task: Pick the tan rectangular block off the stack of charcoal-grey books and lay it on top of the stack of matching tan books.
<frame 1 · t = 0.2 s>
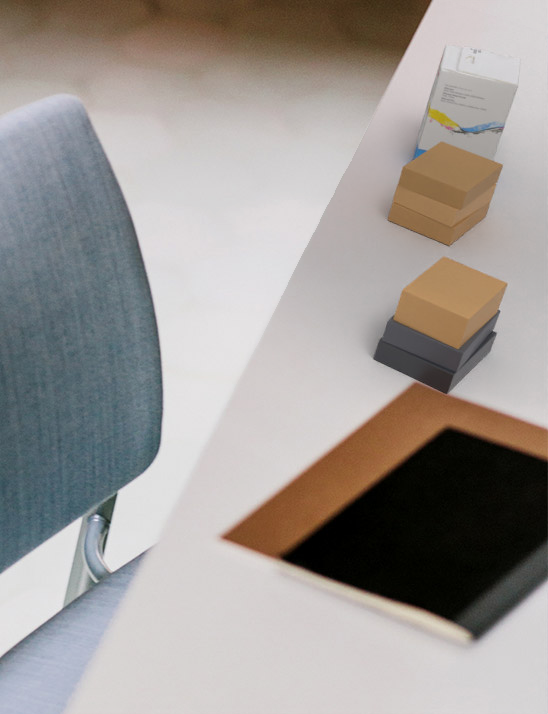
tan rectangular block: (445, 316, 101), point 4 cm above the table, touching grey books
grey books: (432, 355, 103), on the table
ink box: (449, 163, 135), on the table
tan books: (437, 218, 124), on the table
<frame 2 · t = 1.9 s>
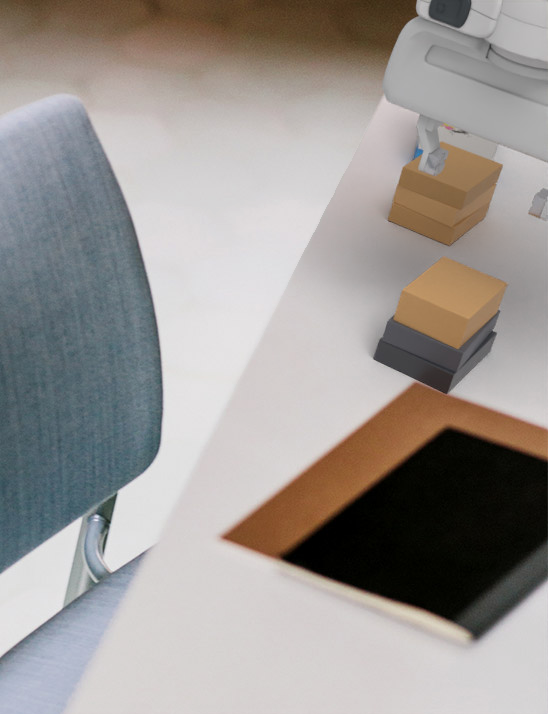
hand: (483, 193, 94), 16 cm above the table, tool pointing down, fingers open, 8 cm apart
nothing on the table moved.
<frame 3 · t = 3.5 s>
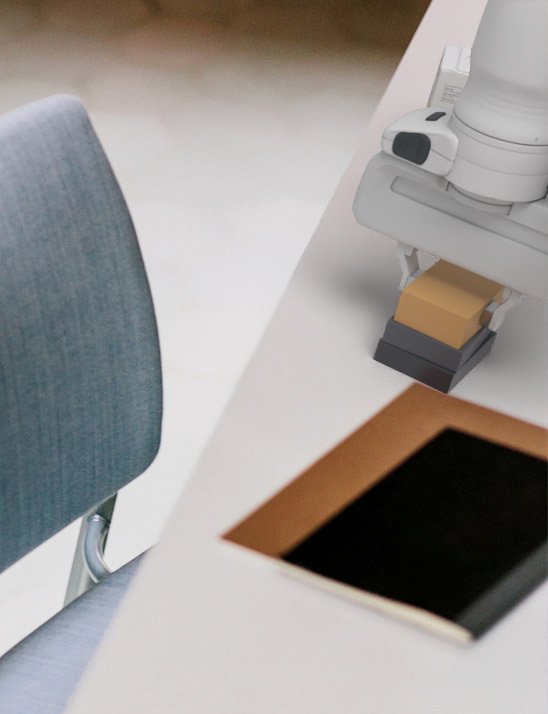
hand: (448, 307, 100), 5 cm above the table, tool pointing down, fingers closed on tan rectangular block, 6 cm apart
tan rectangular block: (445, 316, 101), point 4 cm above the table, touching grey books, gripper
everything else where it was.
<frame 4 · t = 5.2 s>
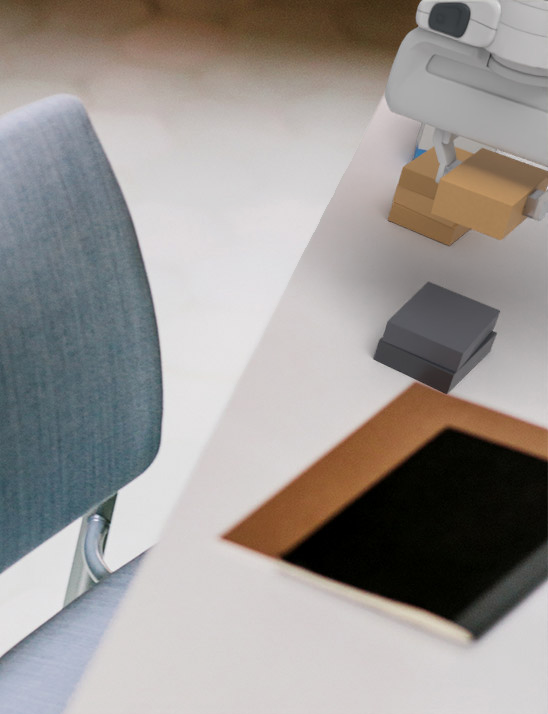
hand: (488, 199, 94), 15 cm above the table, tool pointing down, fingers closed on tan rectangular block, 6 cm apart
tan rectangular block: (485, 209, 95), point 14 cm above the table, touching gripper
everything else where it was.
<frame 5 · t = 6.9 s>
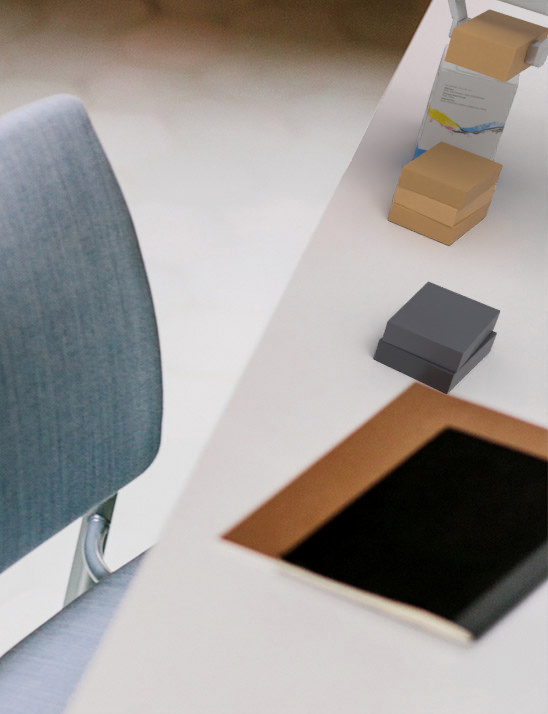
hand: (494, 51, 108), 19 cm above the table, tool pointing down, fingers closed on tan rectangular block, 6 cm apart
tan rectangular block: (492, 60, 109), point 18 cm above the table, touching gripper
everything else where it was.
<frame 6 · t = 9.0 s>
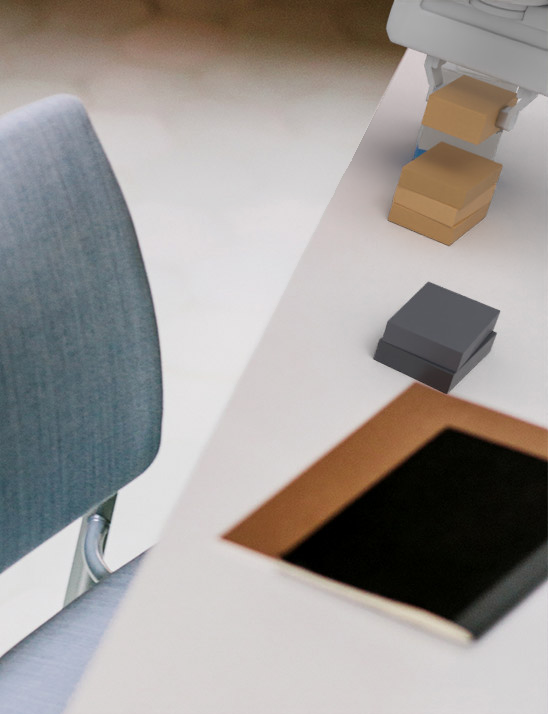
hand: (468, 114, 116), 11 cm above the table, tool pointing down, fingers closed on tan rectangular block, 6 cm apart
tan rectangular block: (465, 123, 117), point 11 cm above the table, touching gripper
everything else where it was.
when the fingers open (7 cm above the table, at t = 10.7 s): tan rectangular block stays where it is, resting on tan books.
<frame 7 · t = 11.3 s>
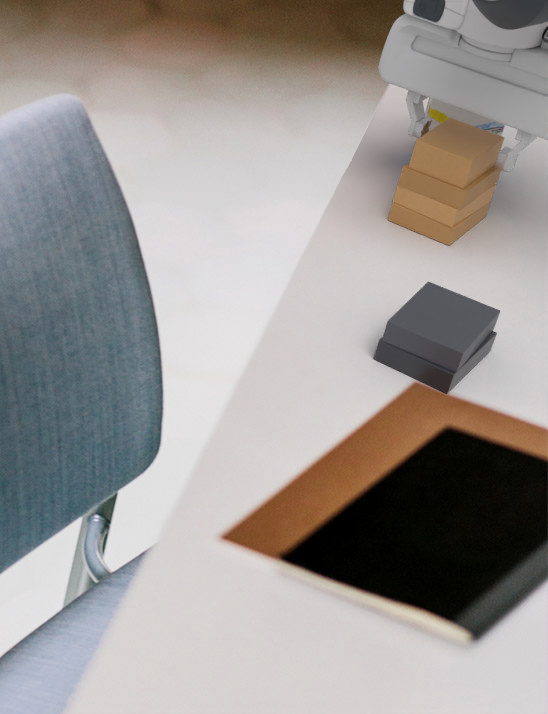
hand: (459, 151, 119), 7 cm above the table, tool pointing down, fingers open, 8 cm apart
tan rectangular block: (452, 166, 120), point 6 cm above the table, touching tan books
everything else where it was.
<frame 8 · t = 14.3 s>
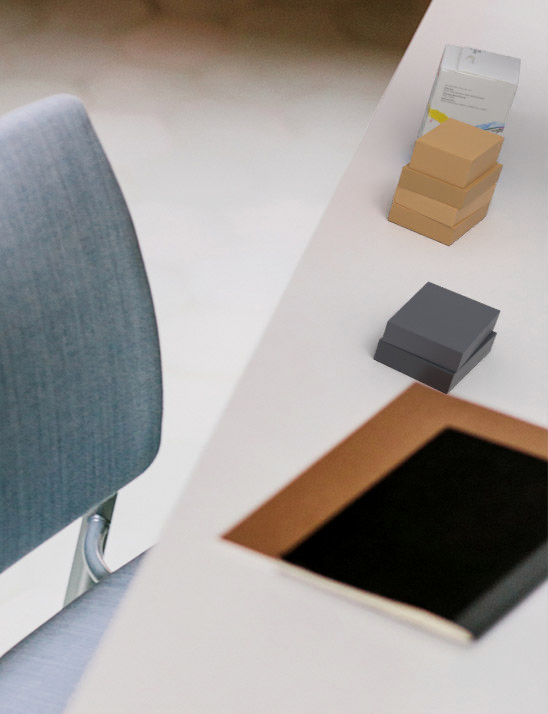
nothing on the table moved.
at the end: tan rectangular block 0.3 cm off-centre on the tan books, point 6.0 cm above the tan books's base; tan rectangular block tilted 0°; the gripper is holding nothing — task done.
